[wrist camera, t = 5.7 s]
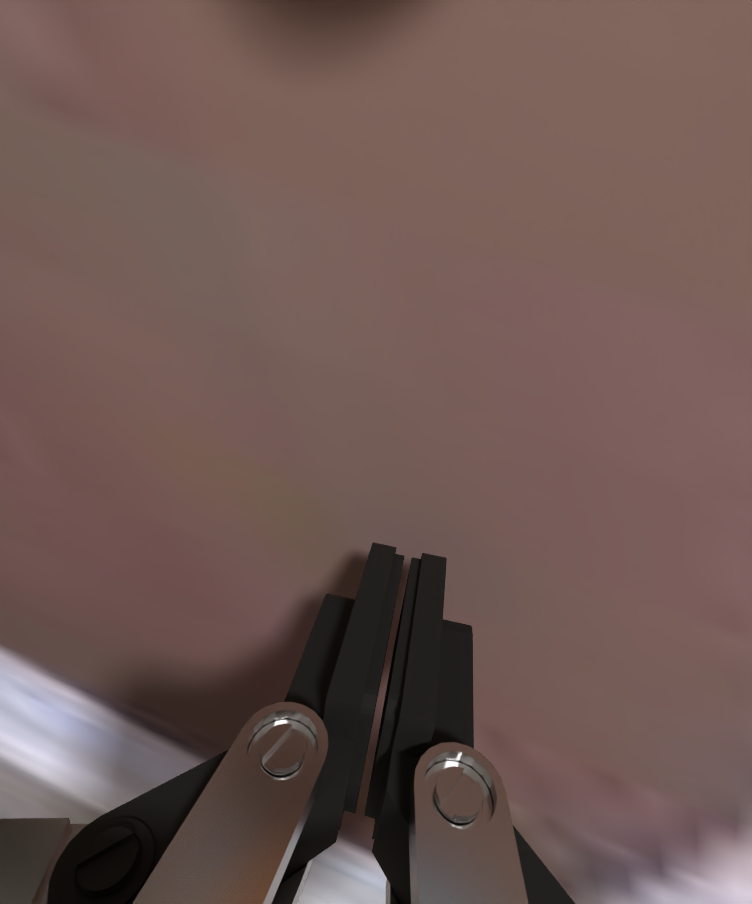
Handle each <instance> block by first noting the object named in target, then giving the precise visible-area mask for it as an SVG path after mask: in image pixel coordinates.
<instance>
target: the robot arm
mask: <svg viewBox="0 0 752 904" xmlns="http://www.w3.org/2000/svg"><path fill="white" fill-rule="evenodd" d="M395 553H396V547H392V546H387V545H382V544H378V543H373V544H372V547H371V550H370V553H369V557H368V560H367V563H366V567H365V570H364V573H363V577H362V580H361V583H360V587H359V590H358V593H357V596H356V600H353V599H349V598H344V597H340V596H336V595H331V594H327V595H326V596H325V598H324V601H323V603H322V606H321V608H320V611H319V614H318V616H317V619H316V621H315V624H314V627H313V629H312V632H311V634H310V637H309V640H308V642H307V645H306V647H305V650H304V652H303V655H302V658H301V660H300V663H299V665H298V668H297V671H296V673H295V676H294V678H293V681H292V684H291V686H290V689H289V691H288V694H287V697H286V699H285V702H278V703H275V704H272V705H269V706H266V707H264V708H262V709H261V710H259V711H258V712H257V713H255V714H254V715H253V716H252V717H251V718H250V719H249V720H248V722H247V723H246V724H245V725H244V726H243V728H242V730H241V731H240V733H239V734H238V736H237V738H236V739H235V741H234V742H233V744H232V746H231V747H230V749H229V750H227V751H225V752H223V753H221V754H219V755H218V756H216V757H214V758H212V759H210V760H208V761H206V762H204V763H202V764H200V765H198V766H196V767H194V768H193V769H191V770H189V771H187V772H185V773H183V774H181V775H179V776H177V777H175V778H173V779H171V780H169V781H168V782H166V783H164V784H162V785H160V786H158V787H156V788H154V789H152V790H150V791H148V792H146V793H144V794H142V795H141V796H139V797H137V798H135V799H133V800H131V801H129V802H127V803H125V804H123V805H121V806H119V807H117V808H116V809H114V810H112V811H110V812H108V813H106V814H104V815H102V816H100V817H99V818H97V819H96V820H94V821H93V822H91V823H90V824H70V820H69V818H15V819H0V904H297V902H298V900H299V897H300V894H301V892H302V889H303V886H304V884H305V881H306V879H307V876H308V873H309V871H310V868H311V865H312V861H313V858H314V857H316V856H317V855H318V854H320V853H321V852H323V851H324V850H325V849H327V848H328V847H329V846H331V845H332V844H334V843H335V842H336V839H337V834H338V830H340V826H341V822H342V817H343V812H344V810H345V811H349V812H352V813H355V811H356V805H357V800H358V795H359V790H360V785H361V780H362V774H363V769H364V764H365V759H366V754H367V748H368V743H369V738H370V733H371V728H372V722H373V717H374V712H375V707H376V702H377V697H378V691H379V686H380V681H381V676H382V671H383V665H384V660H385V655H386V650H387V645H388V639H389V634H390V629H391V624H392V618H393V613H394V608H395V602H396V597H397V592H398V587H399V581H400V576H401V571H402V565H403V560H404V556H403V555H398V554H395ZM445 575H446V558H444V557H439V556H435V555H430V554H425V553H422V557H421V559H417V558H412V559H411V564H410V569H409V574H408V580H407V585H406V590H405V595H404V600H403V605H402V610H401V615H400V620H399V625H398V630H397V635H396V640H395V645H394V650H393V656H392V661H391V667H390V673H389V678H388V684H387V690H386V695H385V701H384V707H383V712H382V718H381V724H380V729H379V735H378V741H377V746H376V752H375V758H374V763H373V769H372V775H371V780H370V786H369V792H368V797H367V803H366V809H365V815H364V816H367V817H371V818H375V824H374V831H373V837H372V839H374V843H373V849H372V853H373V854H374V856H375V858H376V860H377V861H378V863H379V865H380V867H381V869H382V870H383V872H384V874H385V876H386V878H387V881H386V904H575V903H574V902H573V900H572V899H571V898H570V897H569V895H568V894H567V893H566V891H565V890H564V889H563V888H562V886H561V885H560V884H559V883H558V881H557V880H556V879H555V878H554V876H553V875H552V874H551V873H550V871H549V870H548V869H547V867H546V866H545V865H544V864H543V862H542V861H541V860H540V859H539V857H538V856H537V855H536V854H535V852H534V851H533V850H532V849H531V847H530V846H529V845H528V843H527V842H526V841H525V840H524V838H523V837H522V836H521V835H520V833H519V832H518V831H517V830H516V828H515V827H514V826H513V824H512V819H511V814H510V809H509V805H508V800H507V795H506V791H505V788H504V785H503V782H502V779H501V777H500V775H499V774H498V772H497V771H496V769H495V768H494V766H493V764H492V763H491V762H490V761H489V760H488V759H487V758H486V757H484V756H483V755H482V754H481V753H480V752H478V751H476V750H475V749H474V737H473V634H472V627H471V626H470V625H466V624H461V623H457V622H452V621H448V620H443V605H444V590H445Z"/></svg>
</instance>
